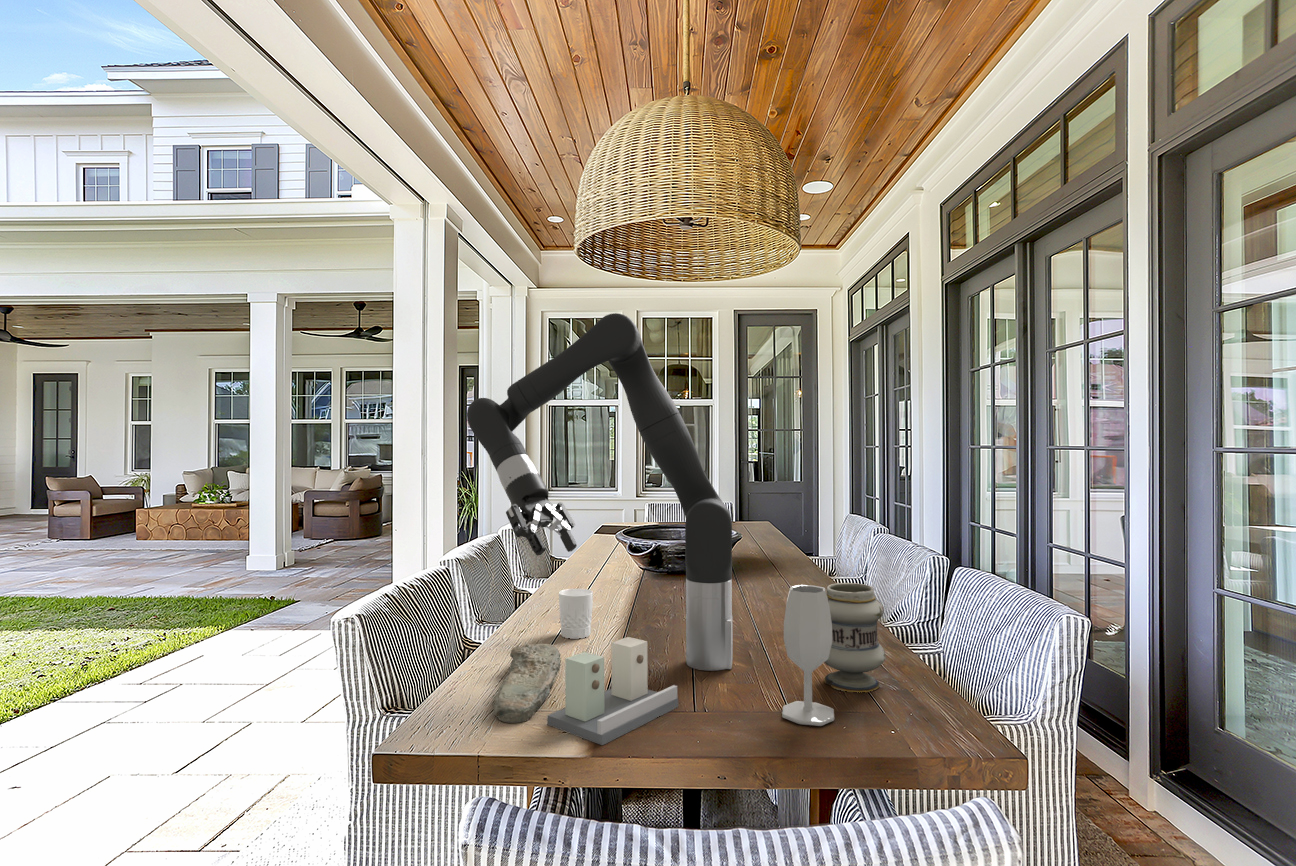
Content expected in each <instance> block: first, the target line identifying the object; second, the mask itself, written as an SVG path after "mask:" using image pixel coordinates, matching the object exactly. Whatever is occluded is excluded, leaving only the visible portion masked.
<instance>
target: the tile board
mask: <svg viewBox="0 0 1296 866" xmlns="http://www.w3.org/2000/svg"><path fill="white" fill-rule="evenodd" d="M676 707H677V708H679V697H678V685H675V684H673V685H670V686H669V687H666V688H664V689H663V690H660V691H655V690H652V689H648V693H647V694H645V695H643V696H641V697H639V698H636V699H634V700H632V701H630V700H626V699H623V698H620V697H617V696H613V695H612V687H611V688H609V689H605V690H604V713H603V714H601V715H599V716H597V717H595V718H592V719H590V720H588V721H586V722H585V721H582V720H579V719H576V718H573V717H570V716H568V715H565V707H564V708H561V709H559V710H556V711H554V712H552V713H550V714H547V716H546V721H547V722H546V724H547V726H549V727H552V726H553V728H555V729H558V730H561V731H563V732H566V733H568V734H571V735H574V736H575V737H578V738H582V739H584V740H587V741H588V742H589V741H590V742H592V743H595V744H597V745H600V746H604V745H606V744H608V743H610V742H612V741H614V740H616V739H618V738H620V737H622V736H624V735H626V734H628V733H630V732H633V731H634V730H636V729H638V728H640V727H641V726H644V725H646V724H648V723H649V722H652V721H653V720H656V719H657V717H658V718H660V717H662V716H663V715H666V714H668V713H670V712H671V711H673V710H675V709H677V708H676ZM674 708H675V709H674ZM659 716H660V717H659Z"/></svg>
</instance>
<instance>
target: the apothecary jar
mask: <svg viewBox="0 0 1296 866" xmlns="http://www.w3.org/2000/svg"><path fill="white" fill-rule="evenodd" d="M826 593H827V597H828V600H829V606H830V613H831V620H832V645H831V649H830V653H829V657H828V659H827V660H826V661H825V662H824V663H823V664H826V665H827V666H828V667H830V668H831V669H834V670H836V671H834V672H829V673H827V674H826V675H825V676H824V679H823V681H824V684H825V685H828V686H830V687H831V688H832V689H834V690H837V691H840V690H841V692H845V691H847V692H846V693H853V692H857V693H856V694H863V693H862V692H865V693H870V692H869V691H871V692H873V690H874V691H876V690H878V689H879V688H880V682H879V681H878V679H876V678H875V677H873V676H871V675H869V674H867V672H871V671H874V670H876V669H878V668H880V666H882V665H883V664H884V662H885V660H886V658H887V657H886V651H885V649H884V647H883V646H882V645H881V644H880V643H879V636H878V635H879V634H878V620H880V619H881V618H882V617H883V615H884V613H885V610H884V606H883V605H884V604H882V602H881V601H880V600H879V599H877V598H876V595H875V591H874V588H873V586H871V585H867V584H865V583H864V584H863V583H858V582H857V583H855V582H838V583H832V584H829V585H828V586H827V587H826ZM858 692H859V693H858ZM860 692H861V693H860Z"/></svg>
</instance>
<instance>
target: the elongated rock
mask: <svg viewBox="0 0 1296 866" xmlns="http://www.w3.org/2000/svg"><path fill="white" fill-rule="evenodd" d="M509 656H510V657H511V658H512V660H511V662H510V667H509V672H508V675H506V676H505V677H506V678H504V679H503V681H502V684H501V685H500V686H499V688H498V690H497V692H496V693H495V695H494V698H493V699H494V706H493V708H494V709H493V717H497V718H498V720H499V721H500V722H503V723H507V724H520V723H524V722H528V720H529V719H531V718H532V716H534V715H535V713H536V711H537V710H538V709H540V707H541V706H542V704H543V703H544V702H545V699H546V698H548V697H549V695H550V693H551V688H552V687H553V686H554V681H555V679H556V677H557V675H558V672H559V671H560V670H561V662H562V660H561V653H560V650H559V648H558V647H557V646H556V645H553V644H549V643H537V644H529V643H526V644H524V645H522V646H520V645H516V646H515V647H513V648H512V649H511V651H510V653H509Z"/></svg>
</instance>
